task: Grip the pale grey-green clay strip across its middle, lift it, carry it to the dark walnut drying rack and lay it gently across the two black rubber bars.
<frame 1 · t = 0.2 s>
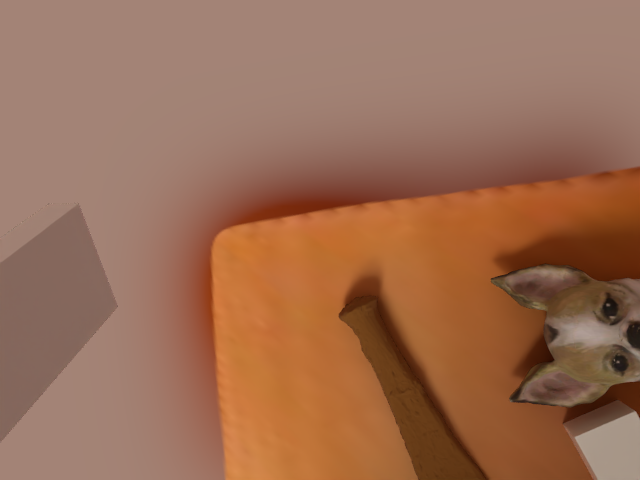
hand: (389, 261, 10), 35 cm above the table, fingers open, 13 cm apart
primitive tool: (416, 403, 45), on the table
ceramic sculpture: (593, 326, 42), on the table
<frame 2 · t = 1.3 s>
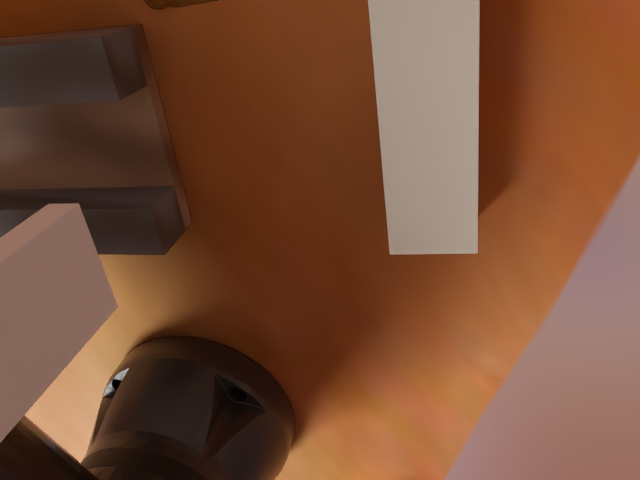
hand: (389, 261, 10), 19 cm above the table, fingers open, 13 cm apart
clay strip: (428, 80, 27), on the table
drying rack: (65, 137, 33), on the table
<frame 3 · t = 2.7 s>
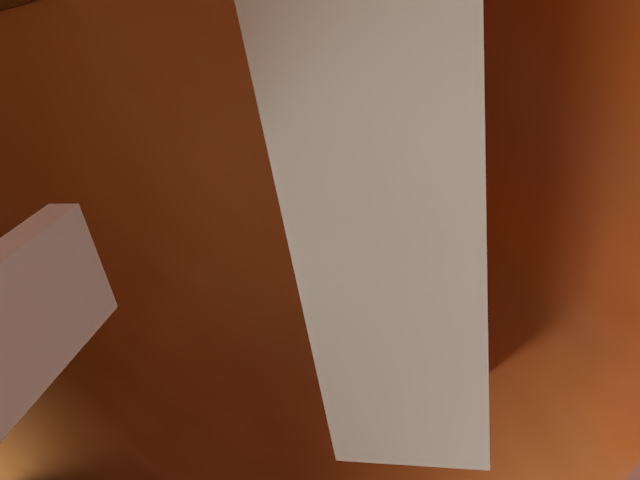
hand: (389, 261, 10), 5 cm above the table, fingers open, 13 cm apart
clay strip: (395, 161, 15), on the table
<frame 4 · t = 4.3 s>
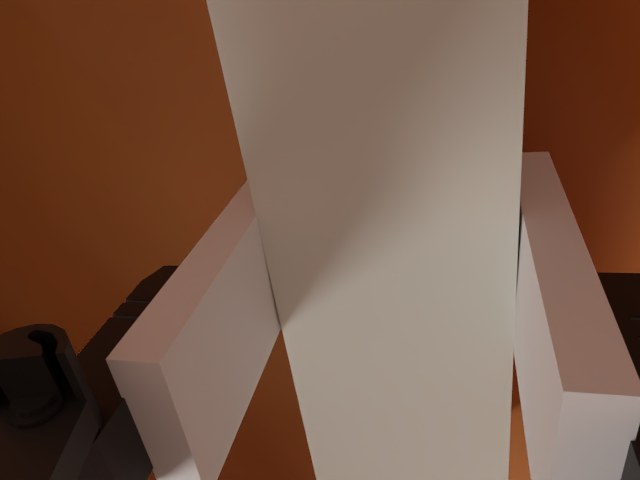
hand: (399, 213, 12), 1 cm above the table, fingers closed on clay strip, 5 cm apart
clay strip: (403, 188, 13), on the table, touching gripper
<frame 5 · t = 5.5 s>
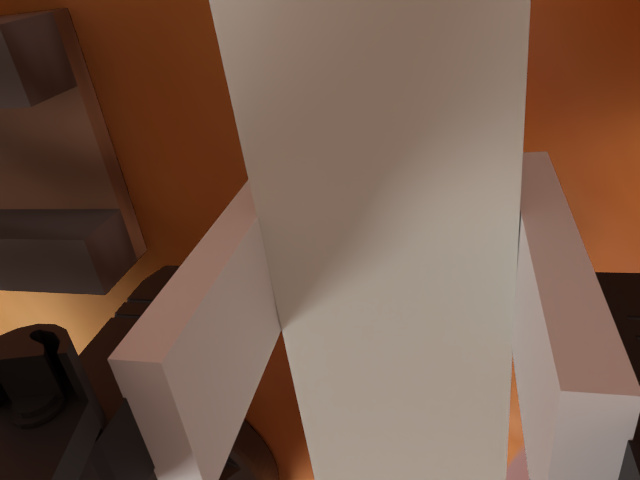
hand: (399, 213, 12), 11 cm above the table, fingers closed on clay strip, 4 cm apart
clay strip: (403, 187, 13), point 9 cm above the table, touching gripper
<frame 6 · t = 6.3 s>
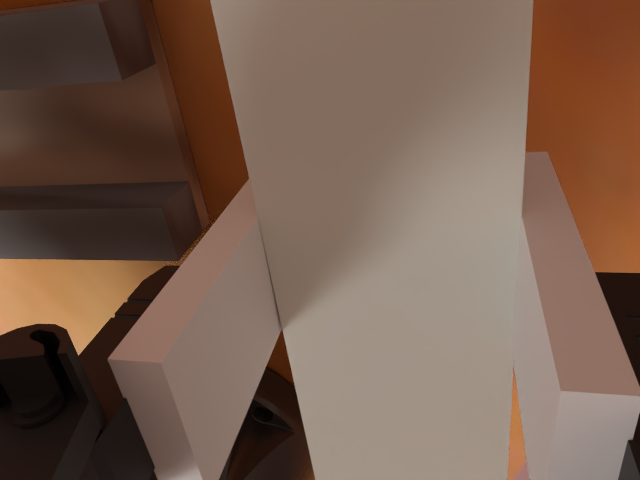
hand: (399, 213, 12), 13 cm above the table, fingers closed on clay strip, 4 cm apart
clay strip: (404, 188, 13), point 12 cm above the table, touching gripper
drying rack: (66, 126, 29), on the table
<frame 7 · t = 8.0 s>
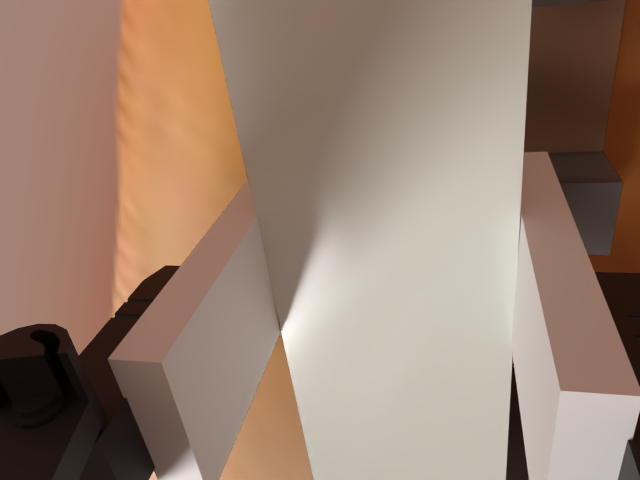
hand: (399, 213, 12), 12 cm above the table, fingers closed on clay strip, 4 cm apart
clay strip: (403, 186, 13), point 11 cm above the table, touching gripper
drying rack: (423, 80, 22), on the table
when the fingers open (7 cm above the table, at t = 10.0 s): clay strip drops 1 cm, resting on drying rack.
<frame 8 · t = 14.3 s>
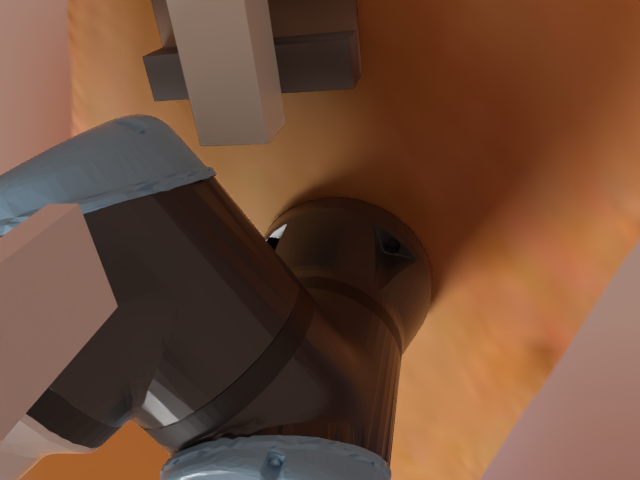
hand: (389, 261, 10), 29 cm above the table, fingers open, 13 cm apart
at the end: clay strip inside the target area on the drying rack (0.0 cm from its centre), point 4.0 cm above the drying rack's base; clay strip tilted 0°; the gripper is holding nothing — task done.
